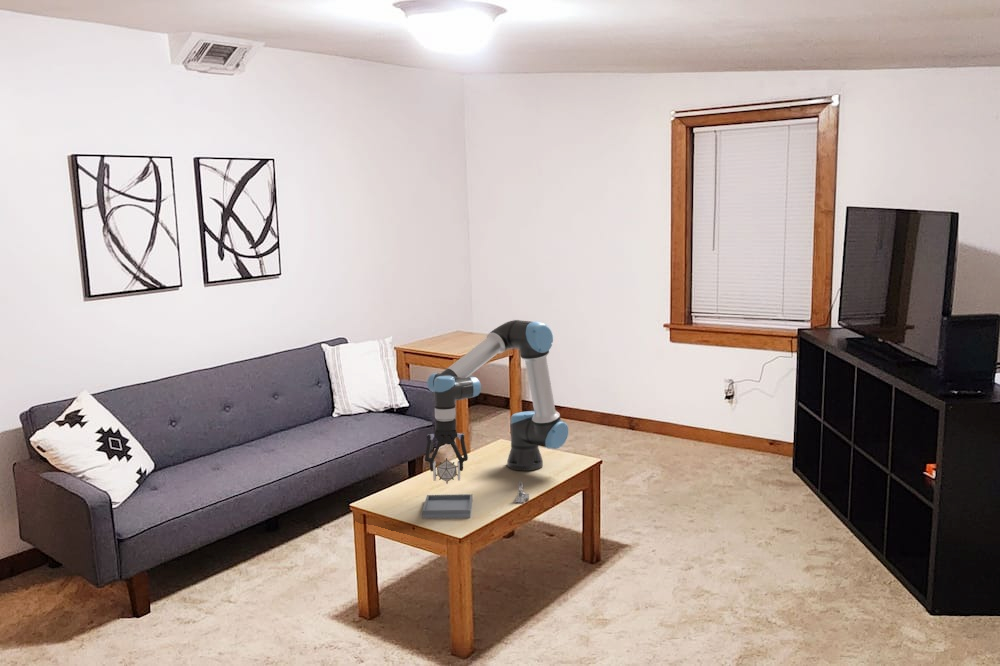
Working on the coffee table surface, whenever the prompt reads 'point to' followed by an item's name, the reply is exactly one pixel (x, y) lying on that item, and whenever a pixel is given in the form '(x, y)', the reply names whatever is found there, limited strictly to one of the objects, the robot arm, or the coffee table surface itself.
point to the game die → (446, 471)
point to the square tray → (447, 506)
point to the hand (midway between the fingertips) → (447, 479)
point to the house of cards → (521, 495)
